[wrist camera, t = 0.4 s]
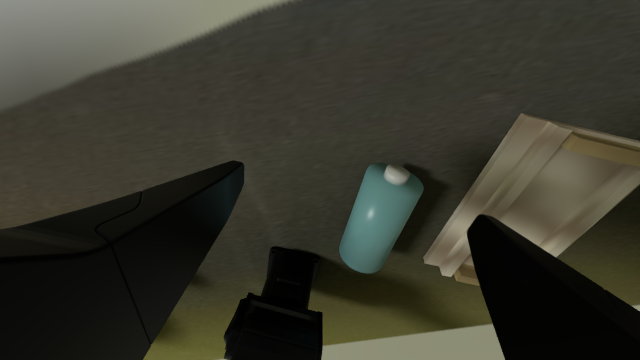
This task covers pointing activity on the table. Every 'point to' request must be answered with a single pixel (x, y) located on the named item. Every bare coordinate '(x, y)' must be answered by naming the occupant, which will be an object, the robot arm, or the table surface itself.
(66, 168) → the table surface
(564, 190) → the wooden tray
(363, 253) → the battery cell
